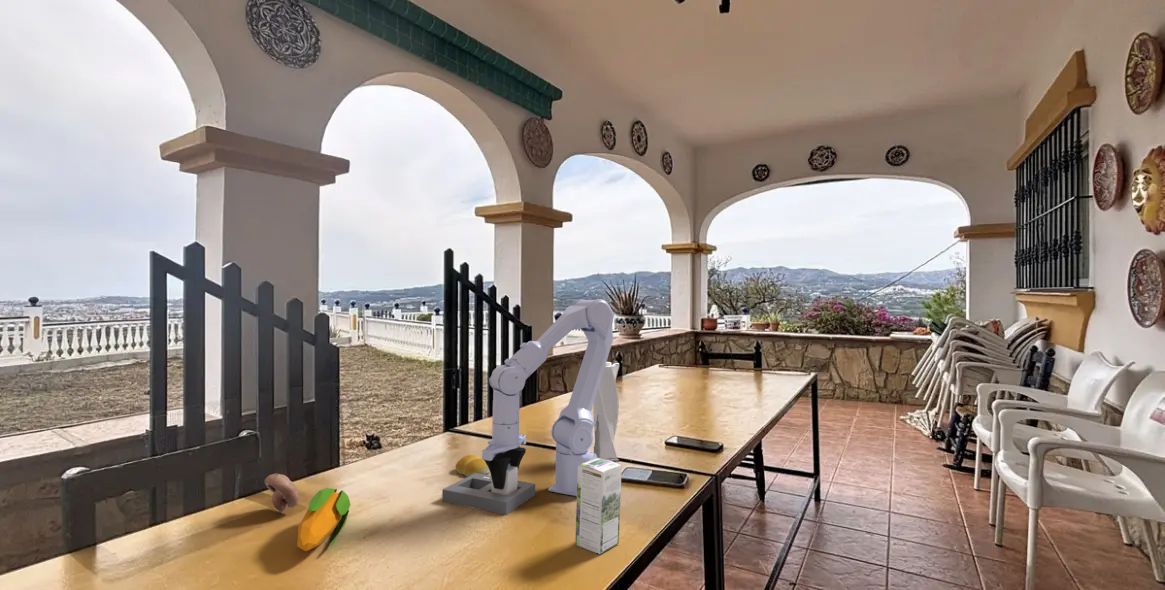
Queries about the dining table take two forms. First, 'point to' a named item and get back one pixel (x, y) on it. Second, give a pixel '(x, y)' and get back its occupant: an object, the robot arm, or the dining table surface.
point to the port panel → (486, 494)
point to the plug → (508, 482)
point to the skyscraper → (606, 413)
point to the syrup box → (598, 505)
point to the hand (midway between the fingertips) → (504, 485)
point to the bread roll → (472, 465)
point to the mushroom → (282, 491)
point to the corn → (323, 518)
